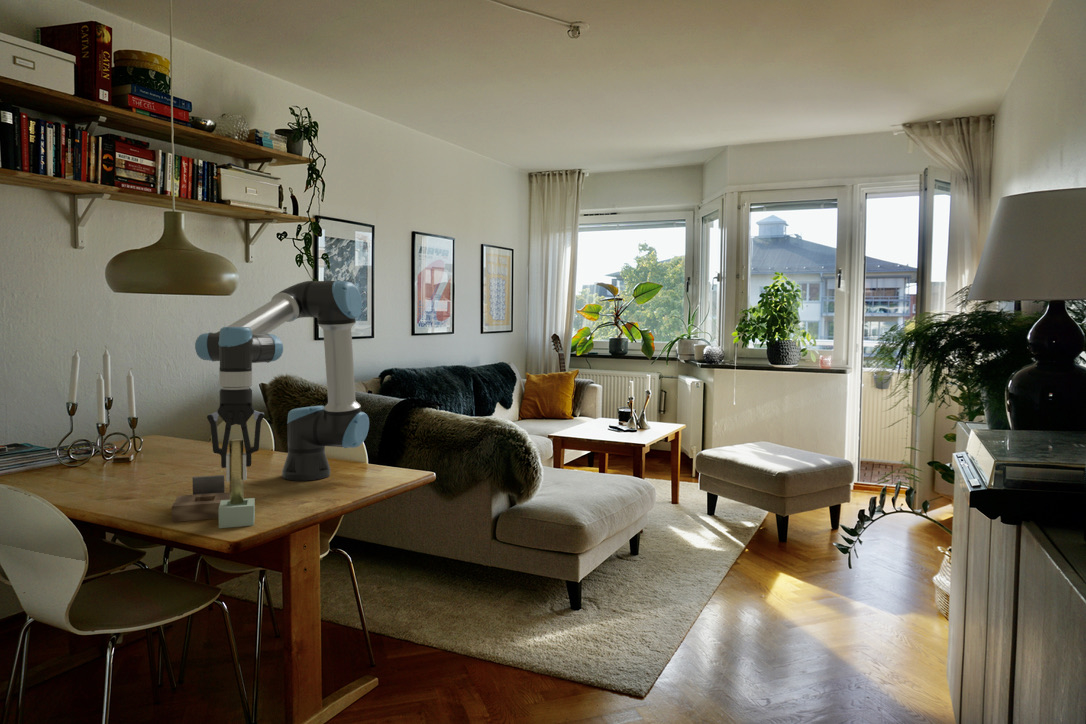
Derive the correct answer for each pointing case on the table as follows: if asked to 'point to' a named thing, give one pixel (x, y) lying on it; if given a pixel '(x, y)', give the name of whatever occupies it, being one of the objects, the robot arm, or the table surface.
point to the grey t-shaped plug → (208, 484)
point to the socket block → (197, 506)
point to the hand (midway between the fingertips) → (236, 479)
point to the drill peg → (236, 471)
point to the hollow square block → (236, 513)
